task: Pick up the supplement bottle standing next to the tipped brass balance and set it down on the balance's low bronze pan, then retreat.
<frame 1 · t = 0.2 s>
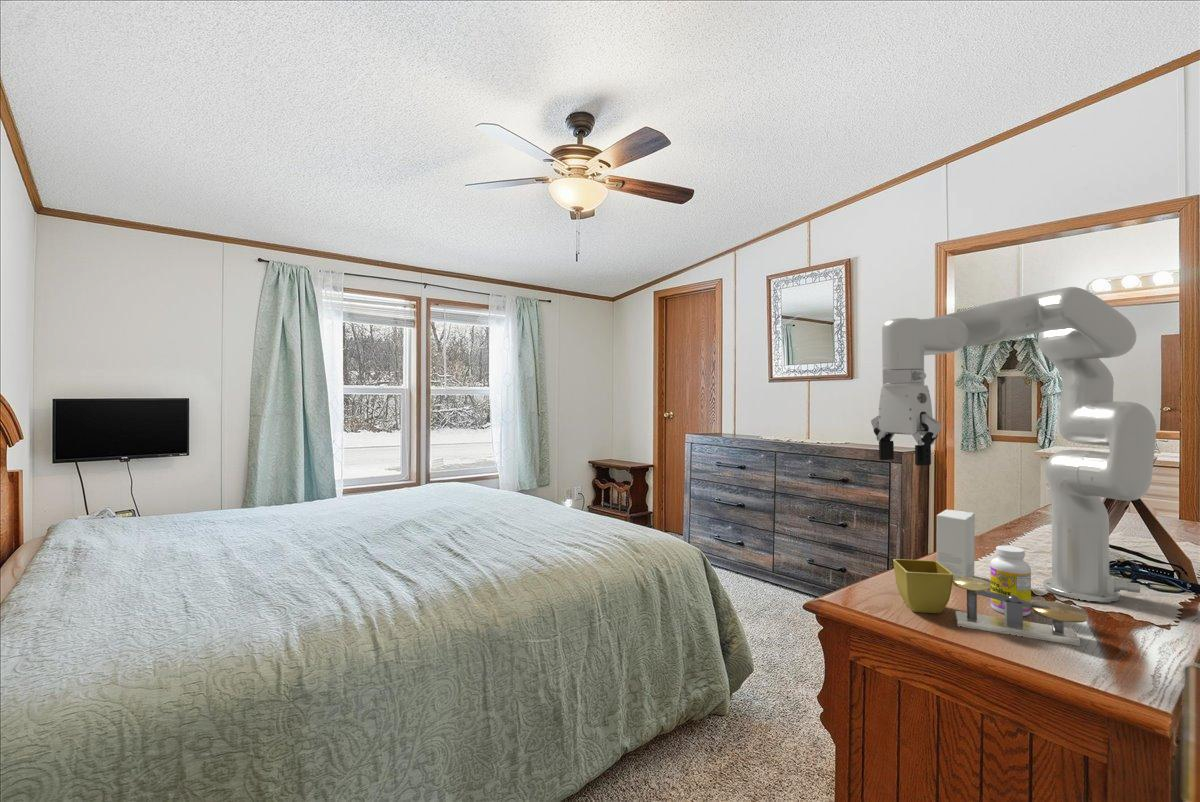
hand: (903, 462, 112), 31 cm above the table, tool pointing down, fingers open, 9 cm apart
skincare box: (956, 578, 132), on the table
balance: (1013, 630, 102), on the table
supplement bottle: (1010, 611, 111), on the table
flower pot: (922, 610, 113), on the table
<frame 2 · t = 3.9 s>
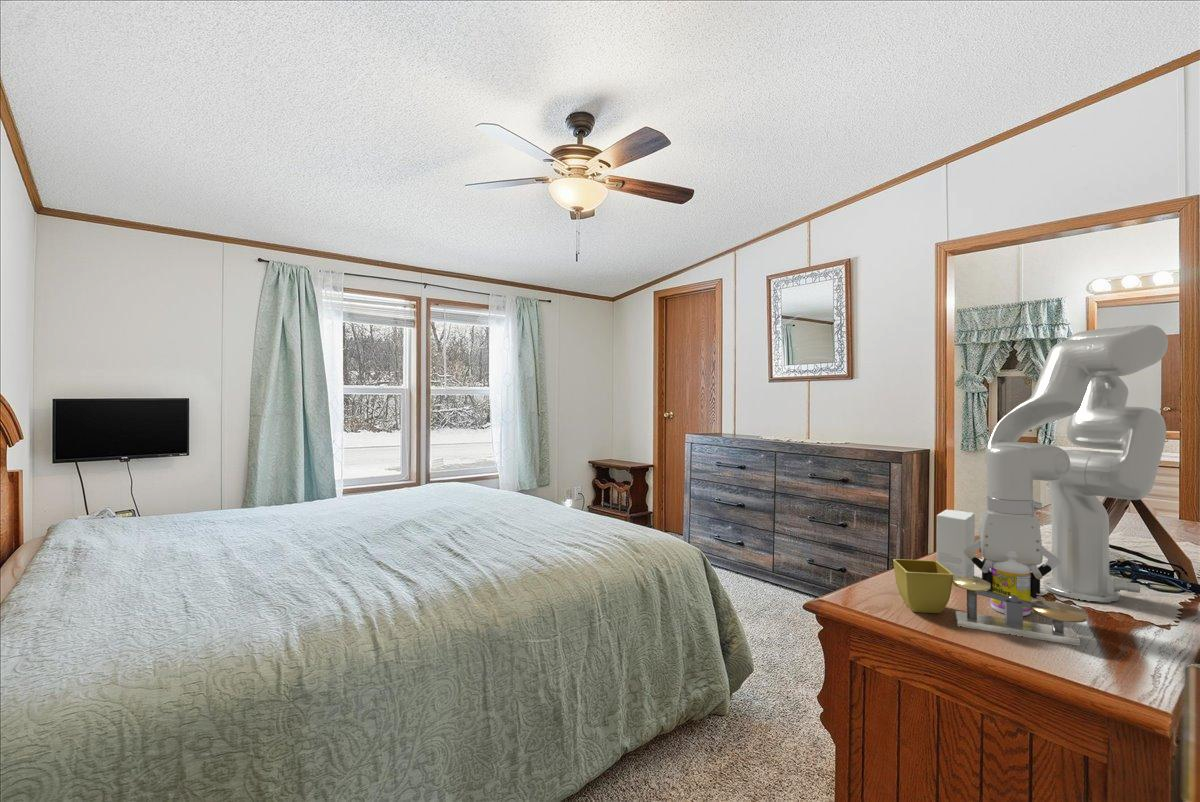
hand: (1010, 592, 111), 4 cm above the table, tool pointing down, fingers closed on supplement bottle, 6 cm apart
supplement bottle: (1010, 611, 111), on the table, touching gripper
everything else where it was.
when the fingers open (10 cm above the table, at t = 9.6 s): supplement bottle stays where it is, resting on balance.
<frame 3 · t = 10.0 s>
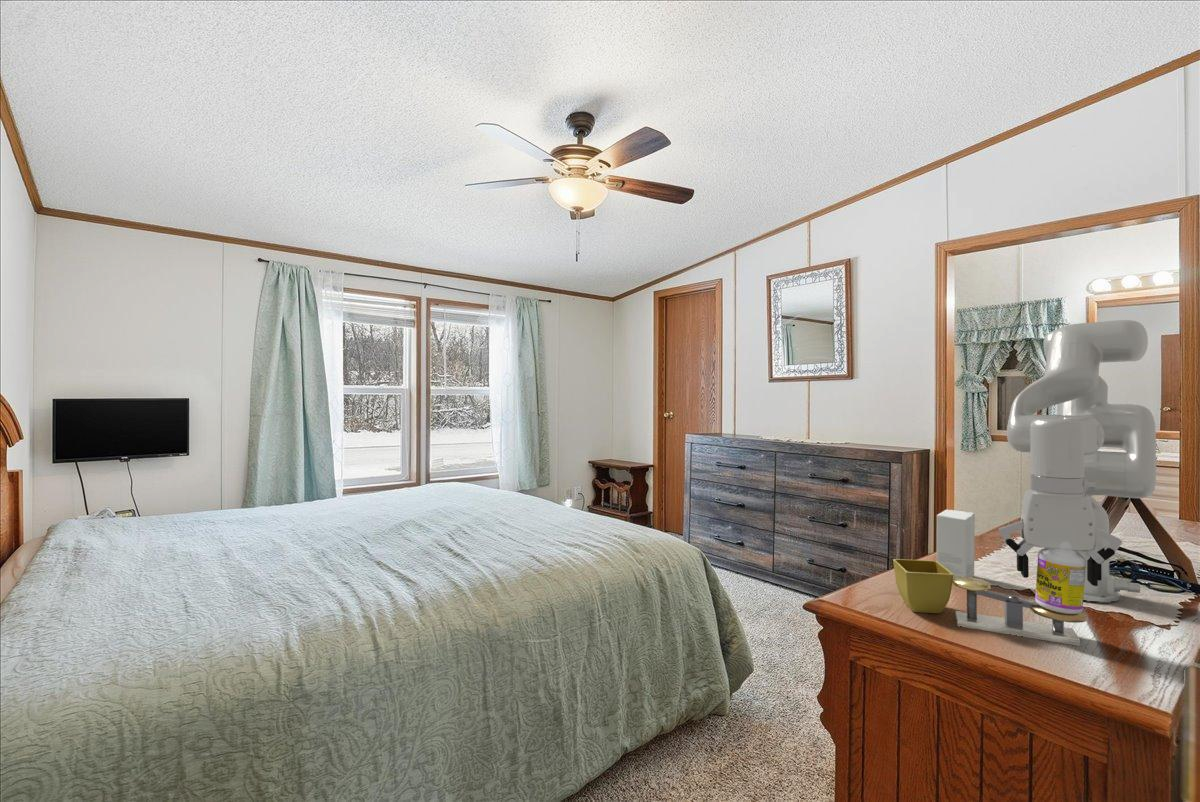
hand: (1057, 579, 99), 11 cm above the table, tool pointing down, fingers open, 9 cm apart
supplement bottle: (1058, 609, 99), point 5 cm above the table, touching balance
everything else where it was.
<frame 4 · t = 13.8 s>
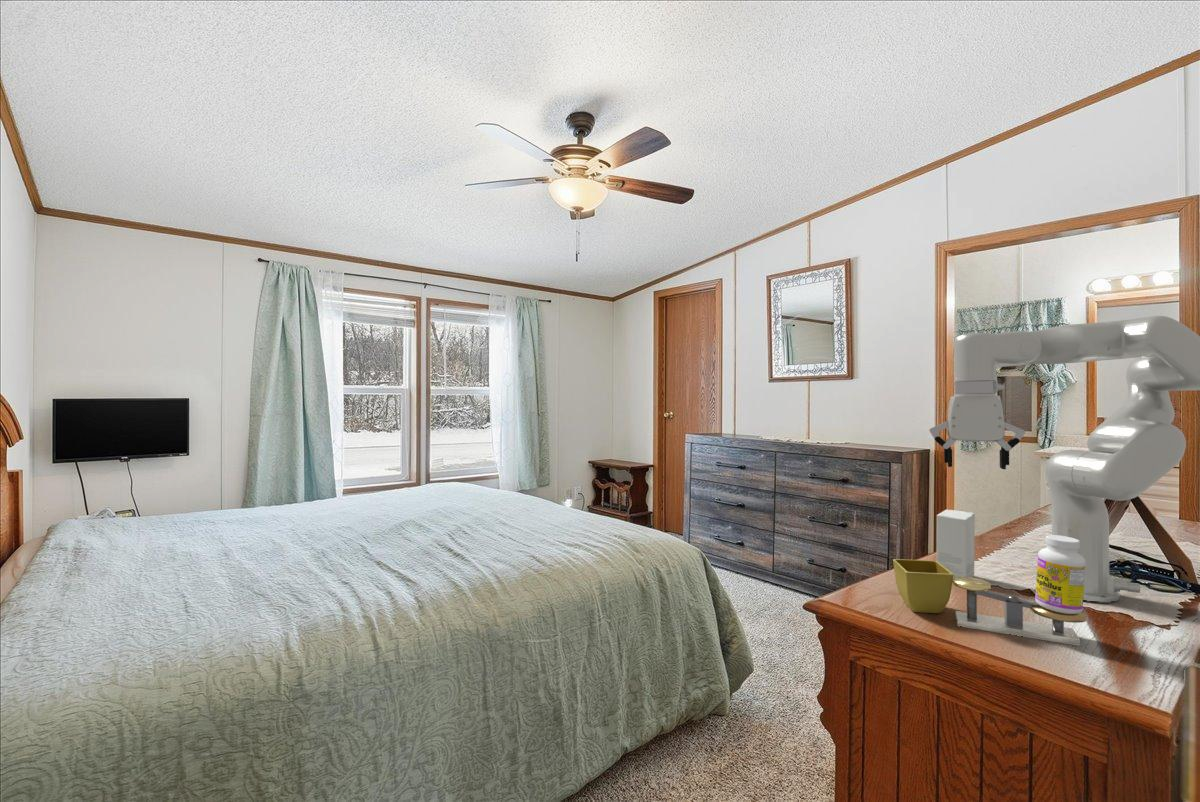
hand: (975, 467, 119), 28 cm above the table, tool pointing down, fingers open, 9 cm apart
nothing on the table moved.
at the end: supplement bottle inside the target area on the balance (0.1 cm from its centre), point 5.2 cm above the balance's base; supplement bottle tilted 3°; the gripper is holding nothing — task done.
